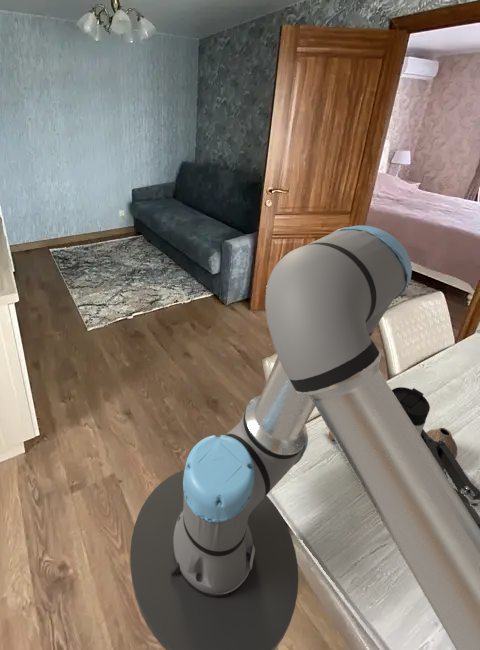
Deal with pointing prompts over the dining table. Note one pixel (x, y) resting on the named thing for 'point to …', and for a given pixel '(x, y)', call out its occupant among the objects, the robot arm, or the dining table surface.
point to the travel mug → (413, 405)
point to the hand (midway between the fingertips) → (384, 411)
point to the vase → (444, 439)
